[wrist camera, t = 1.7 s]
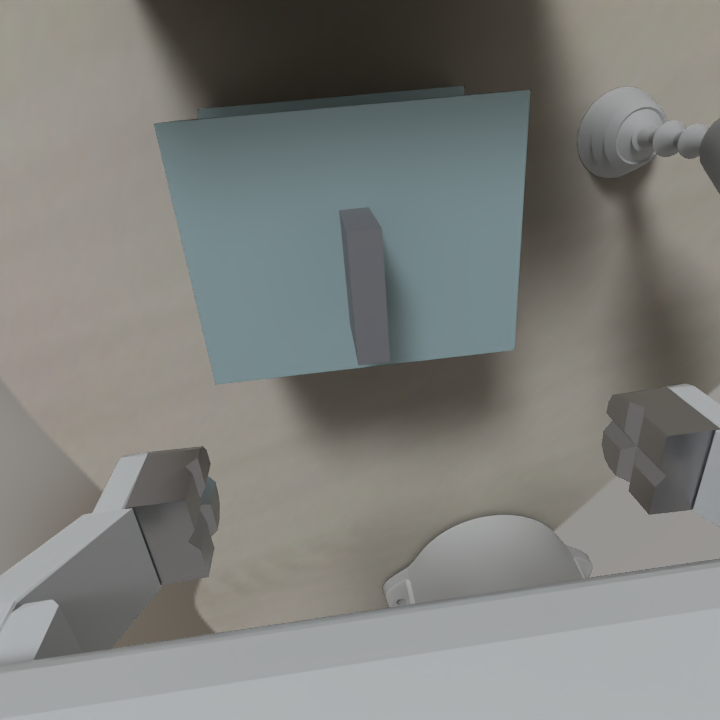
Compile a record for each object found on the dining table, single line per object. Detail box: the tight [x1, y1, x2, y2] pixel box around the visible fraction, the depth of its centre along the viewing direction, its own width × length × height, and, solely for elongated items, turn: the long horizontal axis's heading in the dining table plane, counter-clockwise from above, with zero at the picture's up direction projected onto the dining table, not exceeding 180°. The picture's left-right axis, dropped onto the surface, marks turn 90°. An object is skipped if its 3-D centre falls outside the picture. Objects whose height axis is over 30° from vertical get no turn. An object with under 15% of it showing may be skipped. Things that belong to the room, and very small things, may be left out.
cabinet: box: [154, 86, 530, 385], centre depth 25 cm, size 11×14×15 cm
